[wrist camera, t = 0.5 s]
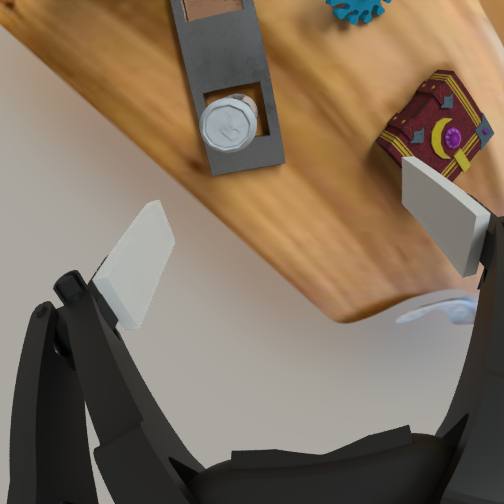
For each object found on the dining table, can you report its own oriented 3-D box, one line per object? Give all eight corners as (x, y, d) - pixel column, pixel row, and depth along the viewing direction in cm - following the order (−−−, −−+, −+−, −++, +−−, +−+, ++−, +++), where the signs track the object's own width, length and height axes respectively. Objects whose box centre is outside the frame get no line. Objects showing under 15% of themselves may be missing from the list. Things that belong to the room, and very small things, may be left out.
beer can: (236, 85, 29) (224, 86, 19) (266, 111, 31) (269, 126, 21) (209, 114, 31) (185, 131, 21) (239, 138, 33) (228, 167, 23)
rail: (165, -34, 19) (162, -38, 18) (238, -52, 18) (237, -57, 17) (214, 172, 35) (212, 175, 34) (284, 159, 34) (285, 163, 33)
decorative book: (371, 139, 32) (386, 149, 28) (439, 62, 25) (460, 63, 21) (419, 192, 36) (436, 207, 32) (479, 121, 28) (500, 129, 24)
